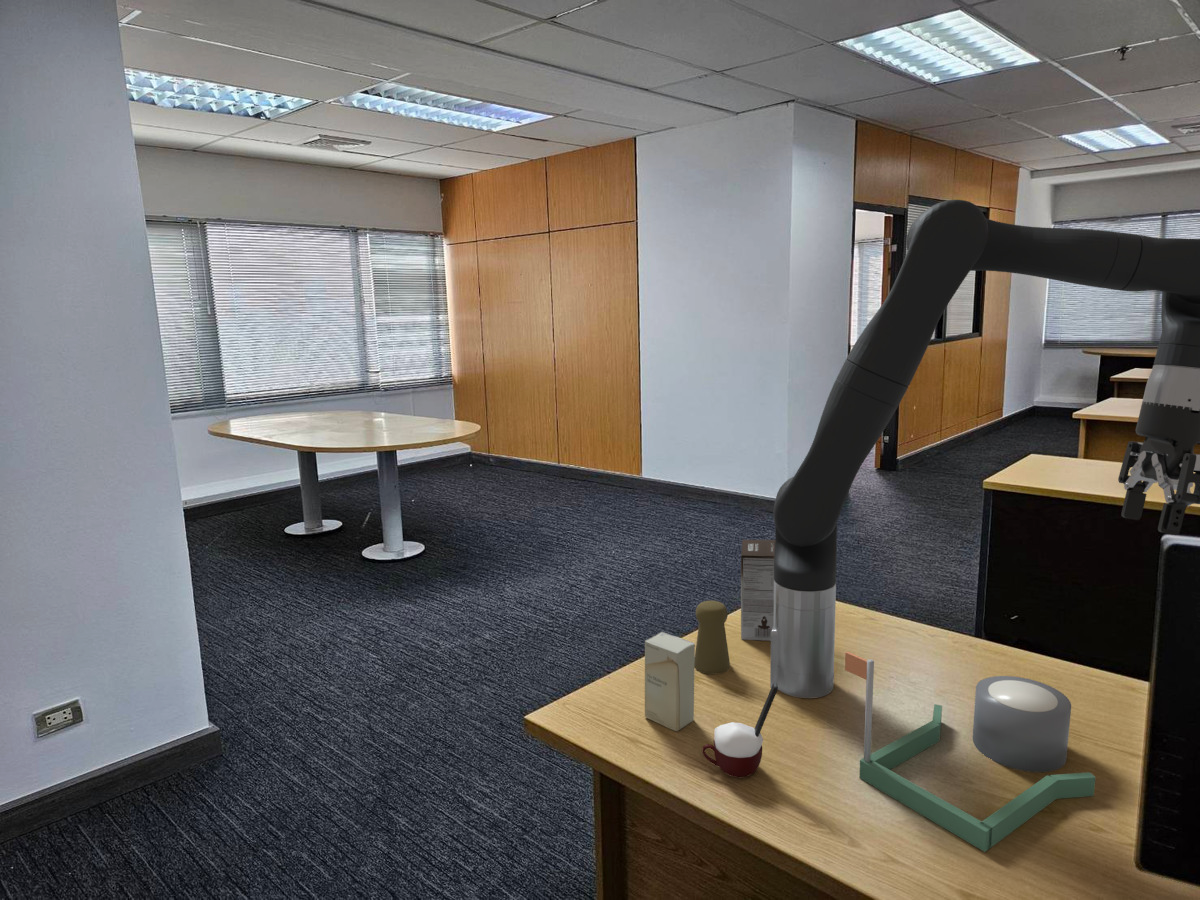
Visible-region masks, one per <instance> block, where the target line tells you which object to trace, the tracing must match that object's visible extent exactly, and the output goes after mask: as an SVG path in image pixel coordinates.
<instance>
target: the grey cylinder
mask: <svg viewBox="0 0 1200 900" xmlns="http://www.w3.org/2000/svg"><path fill="white" fill-rule="evenodd" d="M974 697H975V698H974V709H973V710H974V711H973V725H972V726H973V727H972V743H973V744H974V747H975V748H976V749H977V751H979V752H980V754H982V755H983V754H984V755H983V756H984V757H986V758H988V759H989V758H990V759H989V760H991V759H992V760H991V761H993V762H995V763H997V764H999V765H1001V764H1002V765H1001V766H1003V767H1006V768H1010V769H1013V770H1017V771H1022V772H1028V771H1029V773H1049V772H1053V771H1056V770H1059V769H1061V768H1063V767H1064V766H1065V765H1066V762H1067V759H1068V756H1067V755H1068V747H1069V737H1070V736H1069V735H1070V723H1071V716H1072V715H1071V714H1072V713H1071V712H1072V702H1071V701H1070V699H1069V698H1068V696H1066V695H1065V694H1064V693H1062V692H1061V691H1059V690H1058V689H1056V688H1055V687H1053V686H1050V685H1048V684H1046V683H1043V682H1041V681H1037V680H1034V679H1031V678H1025V677H1021V676H1011V675H996V676H989V677H986V678H983V679H981V680H980V681H978V682H977V683H976V686H975V695H974Z"/></svg>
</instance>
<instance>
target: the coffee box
mask: <svg viewBox="0 0 1200 900" xmlns="http://www.w3.org/2000/svg"><path fill="white" fill-rule="evenodd" d="M740 552H741V553H740V556H741V557H740V632H741V633H740V635H741V638H740V639H741V640H747V641H749V640H750V641H767V642H768V641H769V642H771V630H772V628H773V616H774V555H775V539H742V541H741V550H740Z"/></svg>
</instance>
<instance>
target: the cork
mask: <svg viewBox="0 0 1200 900" xmlns="http://www.w3.org/2000/svg"><path fill="white" fill-rule="evenodd" d="M725 605H726V604H724V603H722V602H720V601H719V600H718V601H717V600H704V601H702V602H700V603H699V604H698V605H697V606H696V609H695V617H696V620H697V622H698V629H697V636H696V644H695V662H694V670H696V671H698V672H700V673H703V674H706V675H720V674H724V673H726V672H728V671H729V670H730V669H731V663H730V654H729V649H728V647H729V646H728V640H727V635H726V626H725V624H726V622H727V620H728V613H729V612H728V609H727V607H726V606H725Z"/></svg>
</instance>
